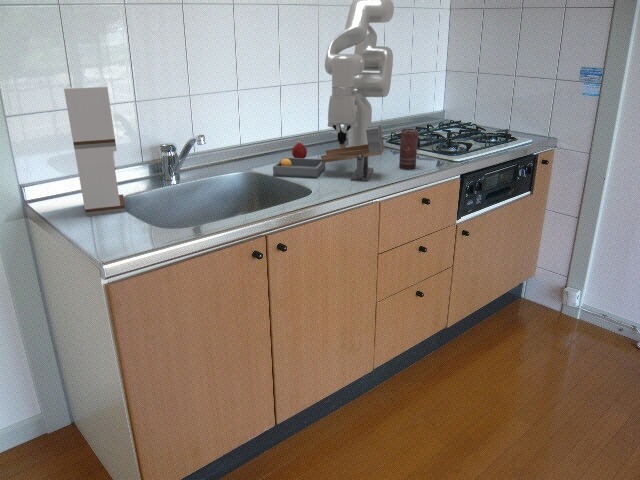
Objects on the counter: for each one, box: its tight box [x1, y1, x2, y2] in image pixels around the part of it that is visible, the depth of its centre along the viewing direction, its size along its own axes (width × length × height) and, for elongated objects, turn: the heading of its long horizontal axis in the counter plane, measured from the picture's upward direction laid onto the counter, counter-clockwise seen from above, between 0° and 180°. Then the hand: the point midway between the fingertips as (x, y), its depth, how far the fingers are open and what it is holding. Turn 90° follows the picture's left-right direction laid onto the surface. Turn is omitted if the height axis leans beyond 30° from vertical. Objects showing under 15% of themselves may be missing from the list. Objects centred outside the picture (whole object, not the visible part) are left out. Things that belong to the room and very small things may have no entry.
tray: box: [272, 157, 327, 179], centre depth 198 cm, size 14×16×4 cm
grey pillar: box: [63, 82, 126, 217], centre depth 155 cm, size 11×11×35 cm
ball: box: [281, 158, 292, 167], centre depth 199 cm, size 4×4×4 cm
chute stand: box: [350, 154, 375, 182], centre depth 193 cm, size 15×6×9 cm, turn 168°
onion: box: [291, 140, 308, 158], centre depth 213 cm, size 6×6×8 cm
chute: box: [320, 123, 385, 163], centre depth 195 cm, size 17×21×9 cm
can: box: [398, 128, 419, 171], centre depth 201 cm, size 6×6×14 cm
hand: (342, 143), depth 203 cm, fingers closed
